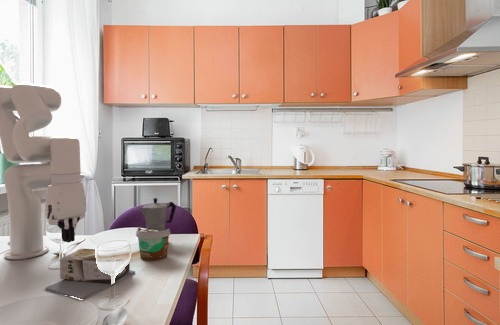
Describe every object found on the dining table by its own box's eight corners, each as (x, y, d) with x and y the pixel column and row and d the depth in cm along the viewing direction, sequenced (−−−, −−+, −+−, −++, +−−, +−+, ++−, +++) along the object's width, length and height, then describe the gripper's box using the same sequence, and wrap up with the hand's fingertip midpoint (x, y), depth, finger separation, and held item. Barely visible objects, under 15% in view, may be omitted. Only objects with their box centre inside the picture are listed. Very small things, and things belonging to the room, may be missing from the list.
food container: (128, 260, 104) (127, 231, 103) (139, 254, 110) (138, 226, 109) (161, 264, 101) (161, 233, 100) (170, 257, 107) (170, 228, 106)
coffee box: (59, 280, 87) (112, 284, 85) (59, 258, 87) (111, 261, 84) (82, 267, 96) (130, 271, 94) (81, 247, 96) (130, 250, 93)
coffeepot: (144, 250, 113) (144, 202, 112) (134, 244, 120) (133, 198, 119) (181, 241, 124) (181, 197, 123) (170, 236, 131) (169, 194, 130)
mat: (45, 289, 83) (45, 287, 83) (101, 265, 99) (101, 263, 99) (81, 300, 77) (81, 298, 77) (135, 273, 94) (134, 271, 94)
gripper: (80, 176, 99) (82, 233, 100) (31, 181, 85) (34, 247, 86) (97, 177, 96) (99, 235, 97) (49, 182, 82) (51, 250, 83)
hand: (68, 241), depth 92 cm, fingers closed
